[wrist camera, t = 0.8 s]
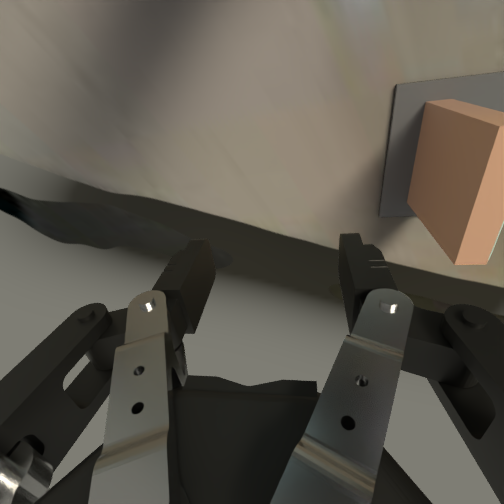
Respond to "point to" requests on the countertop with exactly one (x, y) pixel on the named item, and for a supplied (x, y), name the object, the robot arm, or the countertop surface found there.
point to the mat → (409, 125)
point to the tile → (460, 178)
